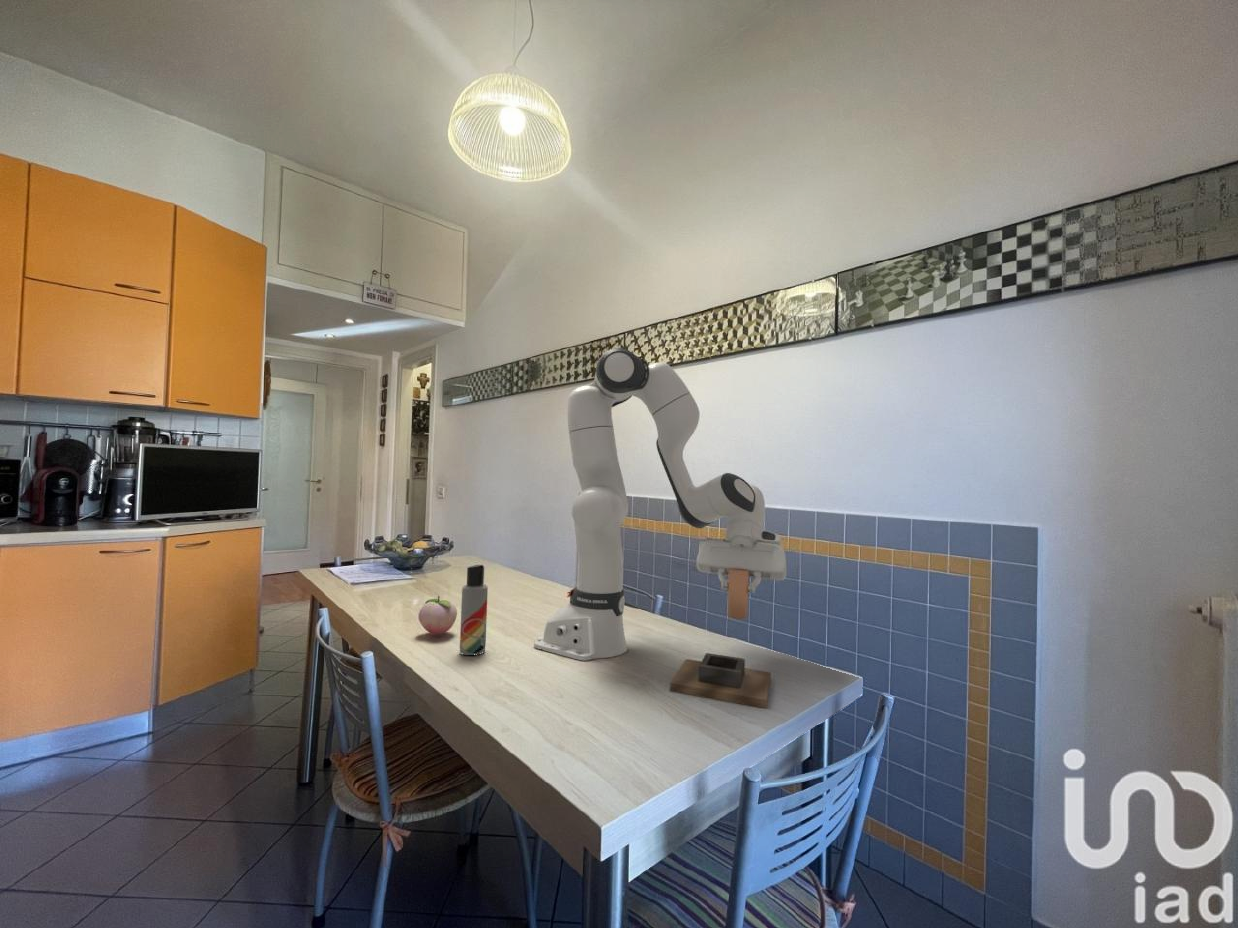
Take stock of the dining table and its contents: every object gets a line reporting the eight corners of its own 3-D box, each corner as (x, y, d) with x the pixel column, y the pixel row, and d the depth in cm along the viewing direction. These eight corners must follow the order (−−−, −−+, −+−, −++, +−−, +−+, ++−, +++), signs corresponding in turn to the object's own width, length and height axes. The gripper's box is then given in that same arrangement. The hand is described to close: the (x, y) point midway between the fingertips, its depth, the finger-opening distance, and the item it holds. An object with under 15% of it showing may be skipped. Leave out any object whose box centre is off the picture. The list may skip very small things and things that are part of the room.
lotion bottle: (477, 657, 109) (481, 567, 110) (454, 655, 110) (458, 566, 111) (489, 649, 115) (492, 563, 115) (467, 646, 116) (470, 562, 116)
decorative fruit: (463, 633, 125) (465, 594, 126) (441, 643, 118) (443, 601, 118) (434, 628, 129) (436, 590, 129) (411, 637, 121) (413, 596, 121)
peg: (725, 617, 107) (727, 571, 107) (728, 612, 111) (729, 568, 112) (746, 620, 106) (747, 573, 106) (748, 614, 110) (749, 570, 110)
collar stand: (669, 690, 95) (670, 667, 95) (685, 665, 108) (686, 645, 108) (766, 708, 89) (766, 683, 89) (770, 679, 102) (770, 657, 102)
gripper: (699, 529, 119) (689, 576, 110) (787, 536, 112) (785, 587, 103) (701, 545, 123) (692, 592, 114) (787, 552, 116) (785, 603, 107)
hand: (737, 590), depth 108 cm, fingers closed on peg, 4 cm apart
